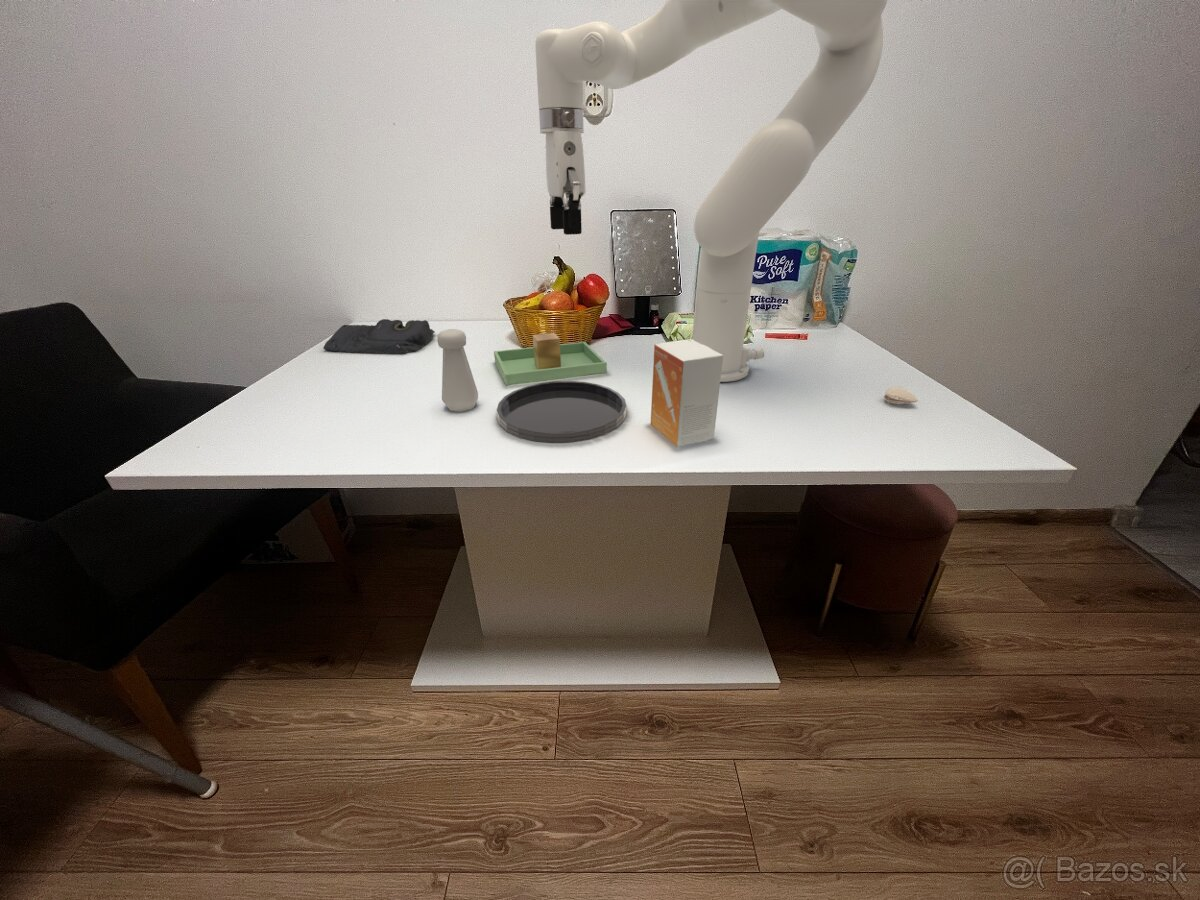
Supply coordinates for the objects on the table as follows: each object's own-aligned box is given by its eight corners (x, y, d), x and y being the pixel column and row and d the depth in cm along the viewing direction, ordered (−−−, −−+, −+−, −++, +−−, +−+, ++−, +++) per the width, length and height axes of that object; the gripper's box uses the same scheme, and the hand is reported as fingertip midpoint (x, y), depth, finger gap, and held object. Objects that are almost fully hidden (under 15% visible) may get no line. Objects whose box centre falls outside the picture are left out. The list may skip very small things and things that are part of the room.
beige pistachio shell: (888, 396, 87) (892, 382, 86) (920, 404, 84) (924, 390, 83) (878, 403, 85) (882, 389, 83) (911, 412, 82) (915, 397, 80)
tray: (585, 353, 109) (584, 341, 108) (606, 375, 97) (606, 362, 96) (495, 363, 104) (493, 351, 103) (506, 387, 92) (504, 374, 91)
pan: (602, 385, 93) (602, 375, 92) (645, 433, 76) (645, 421, 75) (490, 400, 87) (489, 389, 86) (510, 455, 70) (508, 442, 69)
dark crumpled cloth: (354, 332, 124) (349, 313, 122) (441, 334, 122) (438, 314, 120) (317, 352, 111) (311, 330, 109) (414, 354, 109) (409, 332, 107)
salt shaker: (470, 417, 81) (459, 337, 75) (437, 414, 82) (423, 335, 76) (485, 403, 86) (475, 326, 80) (453, 400, 87) (442, 325, 81)
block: (556, 362, 103) (554, 332, 100) (561, 368, 99) (559, 338, 96) (534, 364, 101) (532, 334, 98) (539, 371, 98) (536, 340, 95)
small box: (649, 426, 78) (653, 343, 71) (685, 419, 80) (692, 337, 74) (676, 450, 71) (683, 360, 65) (714, 441, 73) (725, 354, 67)
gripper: (598, 119, 81) (599, 235, 89) (569, 127, 95) (572, 226, 104) (552, 118, 79) (557, 237, 87) (529, 126, 93) (536, 228, 102)
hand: (565, 231), depth 95 cm, fingers open, 9 cm apart
